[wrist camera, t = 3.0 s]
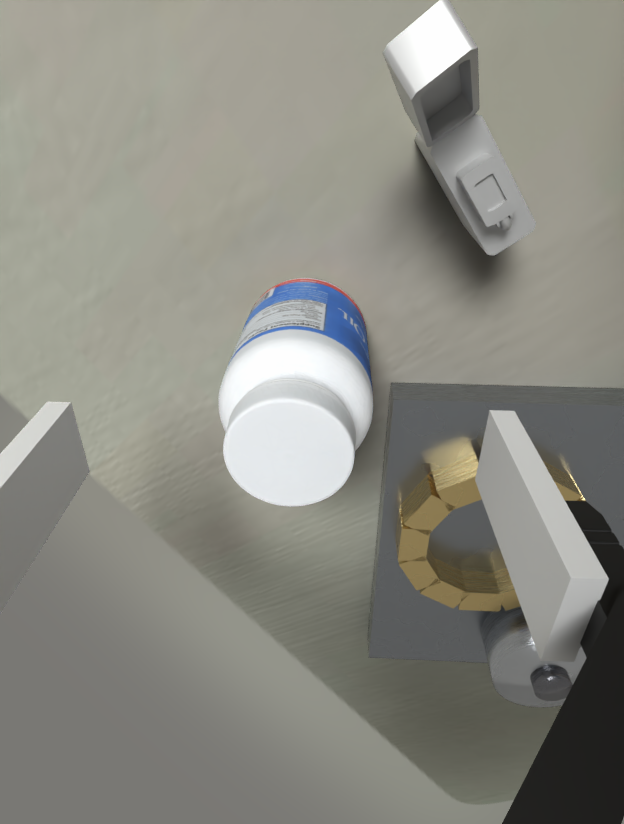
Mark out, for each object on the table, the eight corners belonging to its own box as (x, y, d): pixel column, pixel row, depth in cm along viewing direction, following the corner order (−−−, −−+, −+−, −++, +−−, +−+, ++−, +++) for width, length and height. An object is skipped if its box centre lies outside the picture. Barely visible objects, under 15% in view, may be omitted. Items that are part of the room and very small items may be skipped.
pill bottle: (373, 376, 25) (388, 519, 17) (263, 391, 26) (226, 536, 18) (357, 262, 23) (366, 367, 14) (234, 283, 23) (175, 394, 15)
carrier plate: (390, 382, 26) (401, 448, 21) (693, 390, 25) (772, 460, 20) (367, 635, 35) (371, 717, 31) (583, 644, 35) (619, 730, 30)
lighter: (504, 202, 21) (581, 260, 14) (464, 228, 22) (520, 296, 15) (411, 23, 18) (451, -11, 11) (368, 59, 19) (383, 48, 12)
